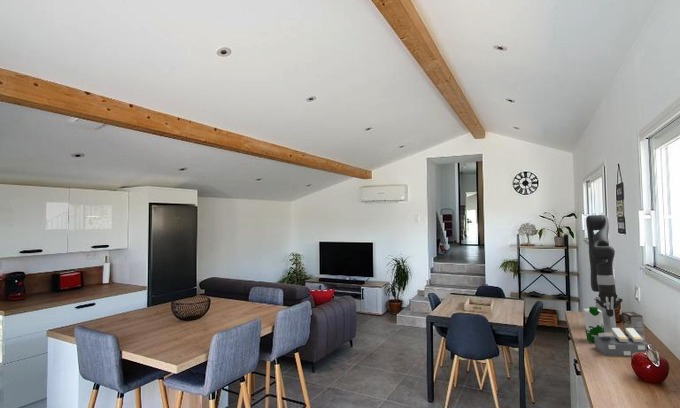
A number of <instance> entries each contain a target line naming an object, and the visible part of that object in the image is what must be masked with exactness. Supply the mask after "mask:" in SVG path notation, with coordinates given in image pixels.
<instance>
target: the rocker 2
mask: <svg viewBox="0 0 680 408" xmlns="http://www.w3.org/2000/svg"><path fill="white" fill-rule="evenodd" d="M611 331H612V333H613V336H614V337H617V339H618V340H619V341H620V342H628V338H627V337H626V336H625V335H624V331H622V329H620V327H616V328H611Z"/></svg>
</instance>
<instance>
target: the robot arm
mask: <svg viewBox="0 0 680 408" xmlns="http://www.w3.org/2000/svg"><path fill="white" fill-rule="evenodd" d="M585 219H586V220H585V224H586V225H585V226H586V231H587V239H588V240H587V241H588V256H589V265H590V288H591V291H593V292H595V293H598V296H597V297H595V298H594V301H595V307H597V308H598V309H599V310H600V311H602V315H603V324H604V332H612V331H611V328H617V323H616V313H615V309H617V308H618V307H619V306H620V304H622V302H623V299H622V298H620V297H619V296H618V294H617V292H616V291H617V290H616V280H615V277H614V271H613V270H614V269H613V265H614V264H613V262H614V257H615V249H614V247H612V245H610V241H609V233H610V232H609V230H610V223H609V218H608V216H607V215H604V214H593V215H587V216H586V218H585ZM595 231H596V232H595ZM612 333H613V332H612Z"/></svg>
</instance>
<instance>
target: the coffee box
mask: <svg viewBox="0 0 680 408" xmlns="http://www.w3.org/2000/svg"><path fill="white" fill-rule="evenodd" d="M621 316H622V317H621V318H622V326H623V333H624V335H625V336H626V337H630V336H629V335H628V334H627V332H626V331H625V328H634V330H635V331H636V332H637V333H638V334H639V335H640V336H641V338H642V339H643V341H644V342H646V338H645V327H644V319H643V315H641V314H639V313H637V312H635V311H623V312H621Z"/></svg>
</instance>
